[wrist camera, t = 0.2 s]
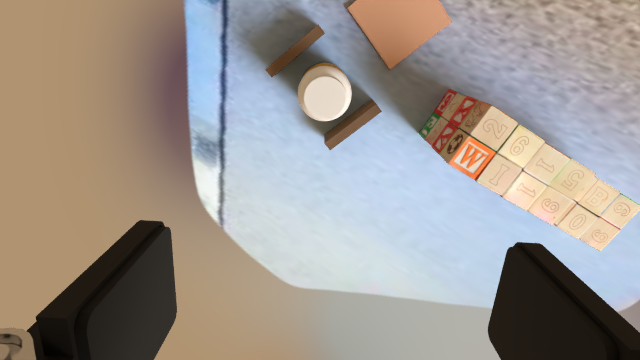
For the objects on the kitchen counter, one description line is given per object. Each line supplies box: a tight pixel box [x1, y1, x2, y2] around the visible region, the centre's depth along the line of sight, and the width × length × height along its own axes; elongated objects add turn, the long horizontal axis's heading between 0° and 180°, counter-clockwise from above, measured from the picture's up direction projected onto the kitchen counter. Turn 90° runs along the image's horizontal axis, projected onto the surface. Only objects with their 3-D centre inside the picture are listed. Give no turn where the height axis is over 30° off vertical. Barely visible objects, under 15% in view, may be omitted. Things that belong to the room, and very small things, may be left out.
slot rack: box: [265, 25, 382, 150], centre depth 42 cm, size 11×7×4 cm, turn 38°
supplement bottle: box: [298, 63, 352, 121], centre depth 39 cm, size 5×5×10 cm
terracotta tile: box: [347, 0, 452, 69], centre depth 41 cm, size 8×8×1 cm
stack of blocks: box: [419, 90, 640, 251], centre depth 41 cm, size 21×6×12 cm, turn 59°
